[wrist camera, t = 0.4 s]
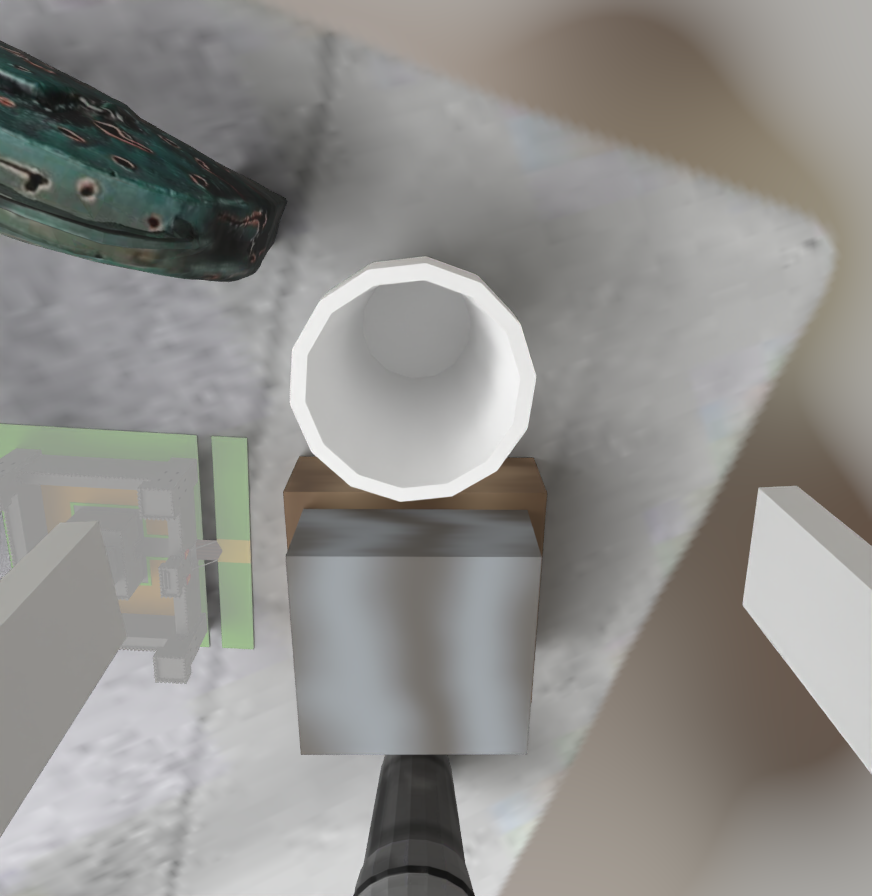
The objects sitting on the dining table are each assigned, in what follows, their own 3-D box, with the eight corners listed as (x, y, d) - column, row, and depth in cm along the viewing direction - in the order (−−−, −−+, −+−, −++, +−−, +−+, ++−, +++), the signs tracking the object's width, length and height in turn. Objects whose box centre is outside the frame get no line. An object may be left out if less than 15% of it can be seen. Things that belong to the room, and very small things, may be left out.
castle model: (-8, 420, 41) (-97, 469, 34) (248, 435, 41) (213, 486, 34) (28, 632, 46) (-42, 712, 39) (255, 643, 47) (225, 724, 40)
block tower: (312, 650, 46) (283, 769, 37) (299, 456, 41) (262, 537, 32) (520, 650, 47) (544, 768, 37) (533, 457, 42) (564, 538, 32)
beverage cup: (421, 696, 48) (418, 1026, 29) (487, 757, 50) (524, 1101, 31) (344, 750, 50) (295, 1095, 31) (412, 807, 52) (404, 1162, 33)
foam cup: (487, 412, 41) (512, 512, 28) (328, 396, 40) (285, 490, 28) (512, 245, 37) (553, 278, 25) (339, 224, 37) (296, 247, 25)
